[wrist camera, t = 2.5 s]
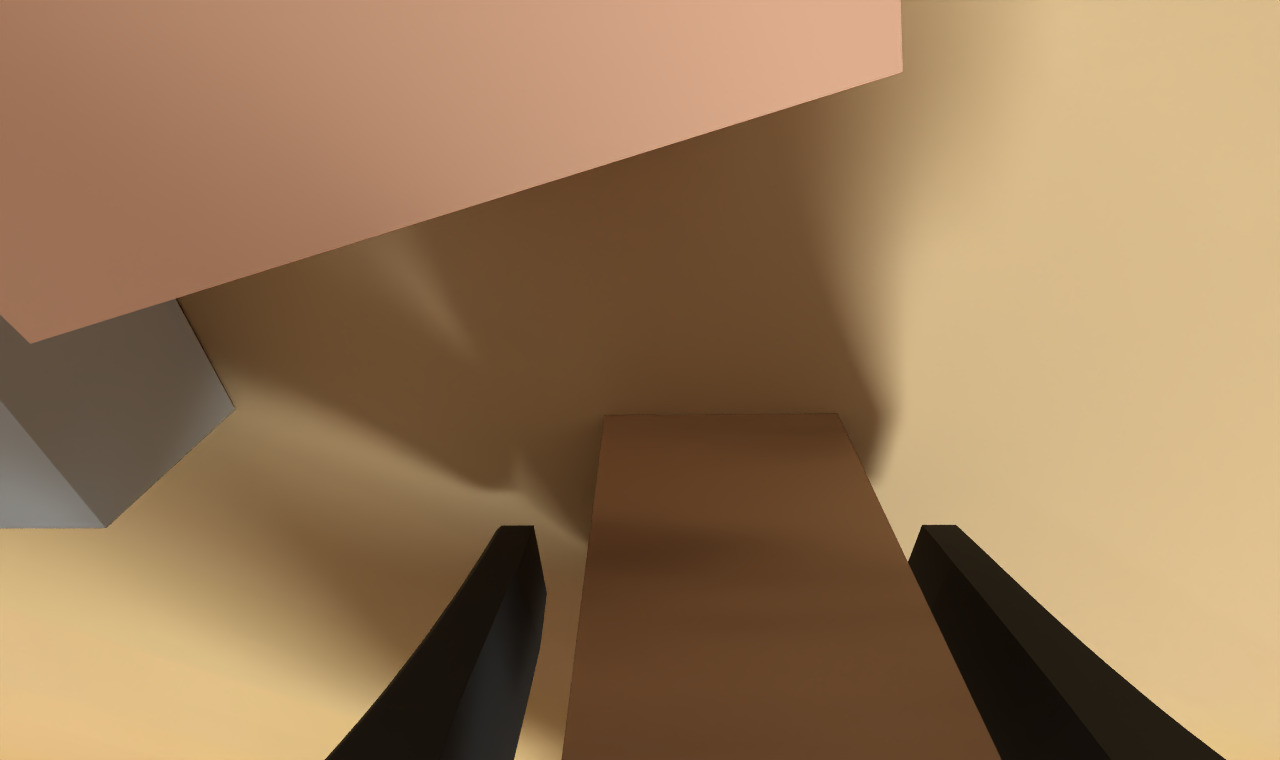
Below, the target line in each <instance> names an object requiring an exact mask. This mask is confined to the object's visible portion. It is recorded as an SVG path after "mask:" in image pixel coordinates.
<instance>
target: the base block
mask: <svg viewBox="0 0 1280 760" xmlns="http://www.w3.org/2000/svg"><path fill="white" fill-rule="evenodd" d="M234 410H235V408H234V406H233V404H232V402H231V401H230V399H229V397H228V395H227V393H226V391H225V389H224V388H223V386H222V384H221V382H220V380H219V378H218V376H217V375H216V373H215V371H214V369H213V367H212V365H211V364H210V362H209V360H208V358H207V356H206V354H205V352H204V351H203V349H202V347H201V345H200V343H199V341H198V339H197V338H196V336H195V334H194V332H193V330H192V328H191V326H190V325H189V323H188V321H187V319H186V317H185V315H184V314H183V312H182V310H181V308H180V306H179V304H178V302H177V301H176V299H173V300H169V301H166V302H163V303H160V304H157V305H153V306H150V307H147V308H144V309H140V310H137V311H134V312H131V313H128V314H124V315H121V316H118V317H115V318H112V319H108V320H105V321H102V322H99V323H96V324H92V325H89V326H86V327H83V328H79V329H76V330H73V331H70V332H67V333H63V334H60V335H57V336H54V337H51V338H47V339H44V340H41V341H38V342H35V343H31V344H30V343H29V342H28V341H27V340H26V339H25V338H24V337H23V336H22V335H21V334H20V333H19V332H18V331H17V330H16V329H15V328H13V327H12V326H11V325H10V324H9V323H8V322H7V321H6V320H5V319H4V318H3V317H2V316H1V315H0V528H107V527H108V526H109V525H110V524H111V523H112V522H113V521H114V520H115V519H117V518H118V517H119V516H120V515H121V514H122V513H123V512H124V511H125V510H126V509H127V508H129V507H130V506H131V505H132V504H133V503H134V502H135V501H136V500H137V499H138V498H139V497H140V496H142V495H143V494H144V493H145V492H146V491H147V490H148V489H149V488H150V487H151V486H152V485H154V484H155V483H156V482H157V481H158V480H159V479H160V478H161V477H162V476H163V475H164V474H166V473H167V472H168V471H169V470H170V469H171V468H172V467H173V466H174V465H175V464H176V463H177V462H179V461H180V460H181V459H182V458H183V457H184V456H185V455H186V454H187V453H188V452H189V451H191V450H192V449H193V448H194V447H195V446H196V445H197V444H198V443H199V442H200V441H201V440H203V439H204V438H205V437H206V436H207V435H208V434H209V433H210V432H211V431H212V430H213V429H215V428H216V427H217V426H218V425H219V424H220V423H221V422H222V421H223V420H224V419H225V418H226V417H228V416H229V415H230V414H231V413H232V412H233V411H234Z"/></svg>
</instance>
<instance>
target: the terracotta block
mask: <svg viewBox="0 0 1280 760" xmlns="http://www.w3.org/2000/svg"><path fill="white" fill-rule="evenodd" d="M901 72H903V65H902V30H901V0H0V315H1V316H2V317H3V318H4V319H5V320H6V321H7V322H8V323H9V324H10V325H11V326H12V327H13V328H15V329H16V330H17V331H18V332H19V333H20V334H21V335H22V336H23V337H24V338H25V339H26V340H27V341H28V342H29V343H30V344H31V343H35V342H38V341H41V340H44V339H47V338H51V337H54V336H57V335H60V334H63V333H67V332H70V331H73V330H76V329H79V328H83V327H86V326H89V325H92V324H96V323H99V322H102V321H105V320H108V319H112V318H115V317H118V316H121V315H124V314H128V313H131V312H134V311H137V310H140V309H144V308H147V307H150V306H153V305H157V304H160V303H163V302H166V301H169V300H173V299H176V298H179V297H182V296H185V295H189V294H192V293H195V292H198V291H201V290H205V289H208V288H211V287H214V286H218V285H221V284H224V283H227V282H230V281H234V280H237V279H240V278H243V277H246V276H250V275H253V274H256V273H259V272H262V271H266V270H269V269H272V268H275V267H279V266H282V265H285V264H288V263H291V262H295V261H298V260H301V259H304V258H307V257H311V256H314V255H317V254H320V253H323V252H327V251H330V250H333V249H336V248H339V247H343V246H346V245H349V244H352V243H356V242H359V241H362V240H365V239H368V238H372V237H375V236H378V235H381V234H384V233H388V232H391V231H394V230H397V229H400V228H404V227H407V226H410V225H413V224H417V223H420V222H423V221H426V220H429V219H433V218H436V217H439V216H442V215H445V214H449V213H452V212H455V211H458V210H461V209H465V208H468V207H471V206H474V205H478V204H481V203H484V202H487V201H490V200H494V199H497V198H500V197H503V196H506V195H510V194H513V193H516V192H519V191H522V190H526V189H529V188H532V187H535V186H538V185H542V184H545V183H548V182H551V181H555V180H558V179H561V178H564V177H567V176H571V175H574V174H577V173H580V172H583V171H587V170H590V169H593V168H596V167H599V166H603V165H606V164H609V163H612V162H616V161H619V160H622V159H625V158H628V157H632V156H635V155H638V154H641V153H644V152H648V151H651V150H654V149H657V148H660V147H664V146H667V145H670V144H673V143H677V142H680V141H683V140H686V139H689V138H693V137H696V136H699V135H702V134H705V133H709V132H712V131H715V130H718V129H721V128H725V127H728V126H731V125H734V124H737V123H741V122H744V121H747V120H750V119H754V118H757V117H760V116H763V115H766V114H770V113H773V112H776V111H779V110H782V109H786V108H789V107H792V106H795V105H798V104H802V103H805V102H808V101H811V100H815V99H818V98H821V97H824V96H827V95H831V94H834V93H837V92H840V91H843V90H847V89H850V88H853V87H856V86H859V85H863V84H866V83H869V82H872V81H876V80H879V79H882V78H885V77H888V76H892V75H895V74H898V73H901Z"/></svg>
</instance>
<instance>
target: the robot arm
mask: <svg viewBox="0 0 1280 760" xmlns="http://www.w3.org/2000/svg"><path fill="white" fill-rule="evenodd" d="M908 564H909V566H910V568H911V570H912V572H913V574H914V576H915V578H916V581H917V583H918V585H919V587H920V589H921V591H922V593H923V595H924V597H925V600H926V602H927V604H928V606H929V608H930V610H931V612H932V614H933V616H934V619H935V621H936V623H937V625H938V627H939V629H940V631H941V633H942V635H943V637H944V640H945V642H946V644H947V646H948V648H949V650H950V652H951V654H952V656H953V659H954V661H955V663H956V665H957V667H958V669H959V671H960V673H961V675H962V678H963V680H964V682H965V684H966V686H967V688H968V690H969V692H970V694H971V697H972V699H973V701H974V703H975V705H976V707H977V709H978V711H979V713H980V715H981V718H982V720H983V722H984V724H985V726H986V728H987V730H988V732H989V734H990V737H991V739H992V741H993V743H994V745H995V747H996V749H997V751H998V753H999V756H1000V758H1001V760H1226V759H1224V758H1223V757H1222V756H1220V755H1219V754H1218V753H1217V752H1215V751H1214V750H1213V749H1211V748H1210V747H1209V746H1207V745H1206V744H1205V743H1204V742H1202V741H1201V740H1200V739H1198V738H1197V737H1196V736H1194V735H1193V734H1192V733H1190V732H1189V731H1188V730H1187V729H1185V728H1184V727H1183V726H1181V725H1180V724H1179V723H1178V722H1176V721H1175V720H1174V719H1173V718H1171V717H1170V716H1169V715H1168V714H1166V713H1165V712H1164V711H1163V710H1161V709H1160V708H1159V707H1158V706H1156V705H1155V704H1154V703H1153V702H1152V701H1150V700H1149V699H1148V698H1147V697H1146V696H1144V695H1143V694H1142V693H1141V692H1140V691H1138V690H1137V689H1136V688H1135V687H1134V686H1133V685H1131V684H1130V683H1129V682H1128V681H1127V680H1125V679H1124V678H1123V677H1122V676H1121V675H1119V674H1118V673H1117V672H1116V671H1115V670H1114V669H1112V668H1111V667H1110V666H1109V665H1108V664H1106V663H1105V662H1104V661H1103V660H1102V659H1101V658H1100V657H1098V656H1097V655H1096V654H1095V653H1094V652H1093V651H1092V650H1090V649H1089V648H1088V647H1087V646H1086V645H1085V644H1084V643H1082V642H1081V641H1080V640H1079V639H1078V638H1077V637H1076V636H1075V635H1073V634H1072V633H1071V632H1070V631H1069V630H1068V629H1067V628H1066V627H1065V626H1063V625H1062V624H1061V623H1060V622H1059V621H1058V620H1057V619H1056V618H1055V617H1054V616H1052V615H1051V614H1050V613H1049V612H1048V611H1047V610H1046V609H1045V608H1044V607H1043V606H1042V605H1041V604H1039V603H1038V602H1037V601H1036V600H1035V599H1034V598H1033V597H1032V596H1031V595H1030V594H1029V593H1028V592H1027V591H1026V590H1024V589H1023V588H1022V587H1021V586H1020V585H1019V584H1018V583H1017V582H1016V581H1015V580H1014V579H1013V578H1012V577H1011V576H1010V575H1009V574H1007V573H1006V572H1005V571H1004V570H1003V569H1002V568H1001V567H1000V566H999V565H998V564H997V563H996V562H995V561H994V560H993V559H992V558H991V557H990V556H989V555H988V554H986V553H985V552H984V551H983V550H982V549H981V548H980V547H979V546H978V545H977V544H976V543H975V542H974V541H973V540H972V539H971V538H970V537H968V536H967V535H966V534H965V533H964V532H963V531H962V530H961V529H960V528H959V527H958V526H957V525H922V527H921V529H920V532H919V535H918V537H917V540H916V543H915V545H914V548H913V551H912V553H911V556H910V559H909V561H908ZM546 595H547V592H546V587H545V582H544V576H543V571H542V566H541V561H540V556H539V551H538V545H537V540H536V535H535V530H534V526H501V527H500V528H498V529H497V530H496V532H495V534H494V535H493V537H492V539H491V540H490V542H489V544H488V545H487V547H486V549H485V550H484V552H483V553H482V555H481V557H480V558H479V560H478V561H477V563H476V564H475V566H474V568H473V569H472V571H471V572H470V574H469V575H468V577H467V578H466V580H465V581H464V583H463V584H462V586H461V587H460V589H459V590H458V592H457V593H456V595H455V596H454V598H453V599H452V600H451V602H450V603H449V605H448V606H447V608H446V609H445V610H444V612H443V613H442V615H441V616H440V618H439V619H438V620H437V622H436V623H435V625H434V626H433V627H432V629H431V630H430V632H429V633H428V634H427V636H426V637H425V639H424V640H423V641H422V643H421V644H420V645H419V646H418V648H417V649H416V650H415V652H414V653H413V654H412V656H411V657H410V658H409V659H408V661H407V662H406V663H405V665H404V666H403V667H402V669H401V670H400V671H399V672H398V674H397V675H396V676H395V678H394V679H393V680H392V681H391V683H390V684H389V685H388V687H387V688H386V689H385V690H384V692H383V693H382V694H381V695H380V696H379V698H378V699H377V700H376V701H375V702H374V704H373V705H372V706H371V707H370V709H369V710H368V711H367V712H366V713H365V714H364V716H363V717H362V718H361V719H360V720H359V722H358V723H357V724H356V725H355V726H354V727H353V728H352V730H351V731H350V732H349V733H348V734H347V735H346V736H345V738H344V739H343V740H342V741H341V742H340V743H339V744H338V746H337V747H336V748H335V749H334V750H333V751H332V752H331V753H330V755H329V756H328V757H327V758H326V759H325V760H514V757H515V753H516V748H517V744H518V740H519V736H520V731H521V727H522V723H523V719H524V714H525V710H526V706H527V702H528V697H529V693H530V689H531V685H532V680H533V676H534V672H535V667H536V663H537V658H538V654H539V650H540V643H541V636H542V628H543V620H544V612H545V604H546Z"/></svg>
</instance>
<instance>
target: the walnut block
mask: <svg viewBox="0 0 1280 760" xmlns="http://www.w3.org/2000/svg"><path fill="white" fill-rule="evenodd" d="M562 760H1001V758H1000V756H999V753H998V751H997V749H996V747H995V745H994V743H993V741H992V739H991V737H990V734H989V732H988V730H987V728H986V726H985V724H984V722H983V720H982V718H981V715H980V713H979V711H978V709H977V707H976V705H975V703H974V701H973V699H972V697H971V694H970V692H969V690H968V688H967V686H966V684H965V682H964V680H963V678H962V675H961V673H960V671H959V669H958V667H957V665H956V663H955V661H954V659H953V656H952V654H951V652H950V650H949V648H948V646H947V644H946V642H945V640H944V637H943V635H942V633H941V631H940V629H939V627H938V625H937V623H936V621H935V619H934V616H933V614H932V612H931V610H930V608H929V606H928V604H927V602H926V600H925V597H924V595H923V593H922V591H921V589H920V587H919V585H918V583H917V581H916V578H915V576H914V574H913V572H912V570H911V568H910V566H909V564H908V562H907V560H906V557H905V555H904V553H903V551H902V549H901V547H900V545H899V543H898V541H897V538H896V536H895V534H894V532H893V530H892V528H891V526H890V524H889V522H888V519H887V517H886V515H885V513H884V511H883V509H882V507H881V505H880V503H879V500H878V498H877V496H876V494H875V492H874V490H873V488H872V486H871V484H870V482H869V479H868V477H867V475H866V473H865V471H864V469H863V467H862V465H861V463H860V460H859V458H858V456H857V454H856V452H855V450H854V448H853V446H852V444H851V441H850V439H849V437H848V435H847V433H846V431H845V429H844V427H843V425H842V422H841V420H840V418H839V416H838V414H837V413H831V414H700V415H604V423H603V432H602V440H601V448H600V456H599V464H598V472H597V480H596V488H595V496H594V504H593V512H592V520H591V528H590V536H589V544H588V552H587V561H586V569H585V577H584V585H583V593H582V601H581V609H580V617H579V625H578V633H577V641H576V649H575V657H574V665H573V673H572V682H571V690H570V698H569V706H568V714H567V722H566V730H565V738H564V746H563V754H562Z"/></svg>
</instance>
